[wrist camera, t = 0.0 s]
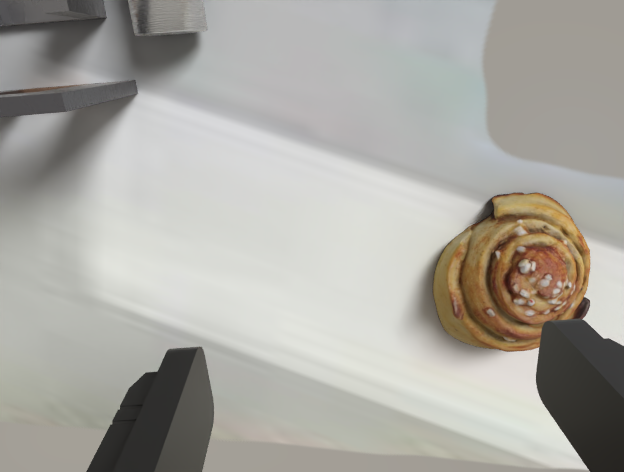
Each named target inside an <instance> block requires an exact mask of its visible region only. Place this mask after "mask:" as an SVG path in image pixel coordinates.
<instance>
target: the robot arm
mask: <svg viewBox="0 0 624 472" xmlns="http://www.w3.org/2000/svg"><path fill="white" fill-rule="evenodd" d="M536 384H537V389H538V393H539V396H540V398H541V400H542V402H543V404H544V405H545V407H546V408H547V410H548V411H549V413H550V414H551V416H552V417H553V418H554V420H555V421H556V423H557V424H558V426H559V427H560V429H561V430H562V431H563V433H564V434H565V436H566V437H567V439H568V440H569V442H570V443H571V445H572V446H573V447H574V449H575V450H576V452H577V453H578V455H579V456H580V458H581V459H582V461H583V462H584V463H585V465H586V466H587V468H588V469H589V471H590V472H624V346H622V345H620V344H618V343H617V342H615V341H613V340H611V339H609V338H608V339H603V338H602V337H601V336H600V335H599V334H598V333H597V332H596V331H595V330H594V329H593V328H592V327H591V326H590V325H589V324H588V323H587V322H585V321H584V320H582V319H567V320H554V321H546V322H545V323H544V324H543V327H542V331H541V339H540V347H539V355H538V364H537V372H536ZM213 420H214V403H213V396H212V391H211V386H210V381H209V375H208V370H207V365H206V360H205V355H204V351H203V349H202V347H190V348H177V349H169V350H168V351H167V352H166V354H165V357H164V359H163V361H162V363H161V366H160V368H159V370H158V372H148V373H145V374H144V375H143V376H142V377H141V378H140V379H139V380H138V381H137V382H135V383H134V384H133V385H132V386H131V387H130V388H129V390H128V392H127V394H126V396H125V398H124V399H123V401H122V403H121V405H120V410H118V411H117V413H116V415H115V417H114V419H113V424H112V425H110V427H109V429H108V431H107V433H106V435H105V437H104V438H103V440H102V442H101V445H100V446H99V448H98V450H97V452H96V454H95V456H94V458H93V460H92V462H91V464H90V466H89V468H88V470H87V472H202V469H203V465H204V460H205V457H206V452H207V448H208V444H209V440H210V436H211V431H212V427H213Z"/></svg>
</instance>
